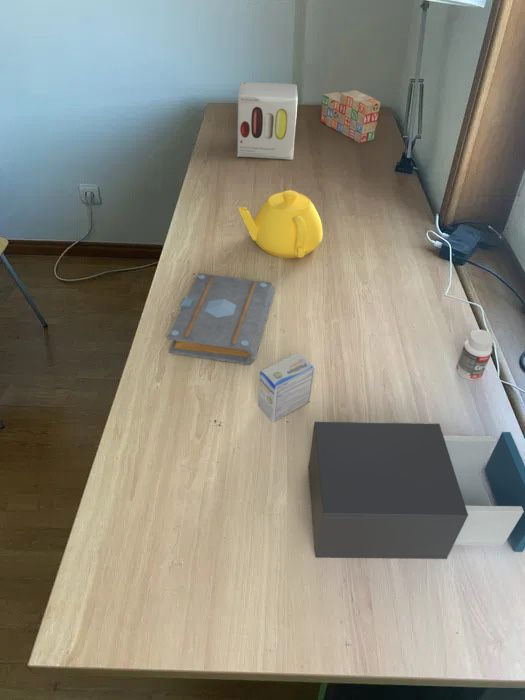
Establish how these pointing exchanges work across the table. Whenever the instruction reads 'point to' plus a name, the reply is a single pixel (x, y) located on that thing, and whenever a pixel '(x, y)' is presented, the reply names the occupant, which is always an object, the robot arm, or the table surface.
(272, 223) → the teapot
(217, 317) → the book
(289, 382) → the medicine box
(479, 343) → the pill bottle
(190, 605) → the table surface
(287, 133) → the supplement box
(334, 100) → the stack of blocks
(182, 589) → the table surface
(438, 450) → the drawer cabinet
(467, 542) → the drawer
